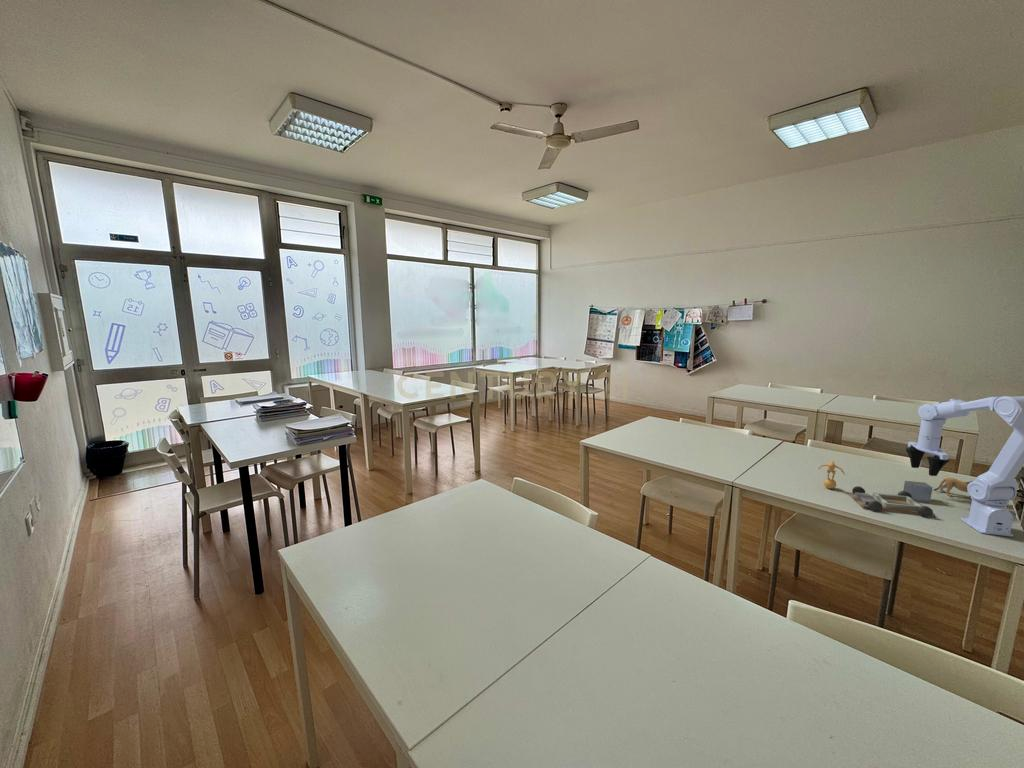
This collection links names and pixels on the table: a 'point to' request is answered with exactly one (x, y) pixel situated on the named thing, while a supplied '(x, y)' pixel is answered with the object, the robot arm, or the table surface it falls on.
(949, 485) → the lion figurine
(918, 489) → the brushed grey box
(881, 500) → the toy car chassis
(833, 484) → the figurine
